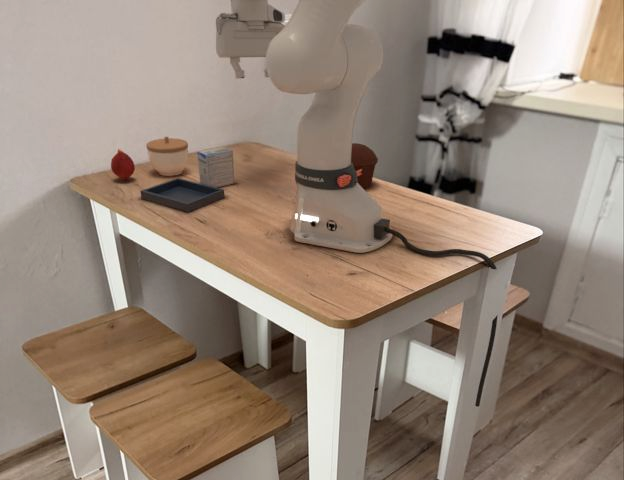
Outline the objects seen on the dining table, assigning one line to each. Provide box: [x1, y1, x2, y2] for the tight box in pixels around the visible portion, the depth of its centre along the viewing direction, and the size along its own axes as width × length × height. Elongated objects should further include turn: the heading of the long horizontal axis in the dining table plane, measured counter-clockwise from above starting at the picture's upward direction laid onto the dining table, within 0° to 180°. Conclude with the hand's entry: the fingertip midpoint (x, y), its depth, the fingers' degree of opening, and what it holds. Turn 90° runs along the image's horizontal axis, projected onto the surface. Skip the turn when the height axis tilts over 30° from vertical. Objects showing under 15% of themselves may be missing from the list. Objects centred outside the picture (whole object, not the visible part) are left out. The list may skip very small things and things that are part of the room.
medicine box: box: [197, 146, 236, 188], centre depth 152 cm, size 8×4×9 cm, turn 130°
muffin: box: [351, 142, 379, 190], centre depth 153 cm, size 12×11×10 cm
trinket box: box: [145, 136, 189, 177], centre depth 160 cm, size 11×11×9 cm
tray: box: [139, 177, 226, 213], centre depth 145 cm, size 16×13×2 cm
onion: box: [110, 148, 136, 181], centre depth 154 cm, size 6×6×8 cm
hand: (255, 77), depth 148 cm, fingers open, 8 cm apart
